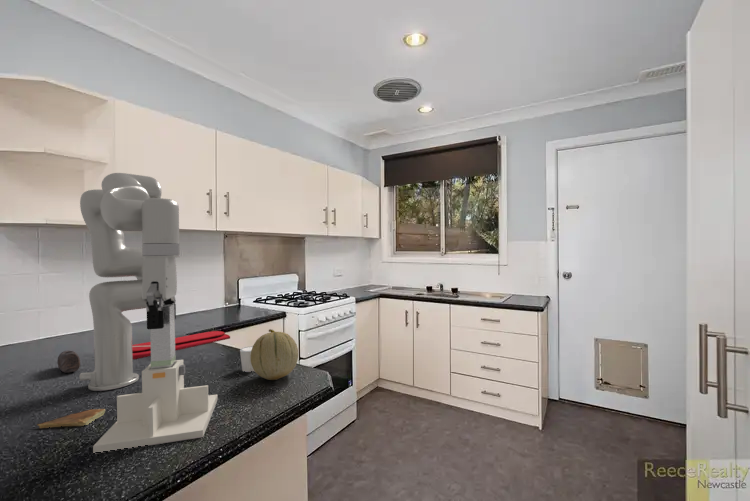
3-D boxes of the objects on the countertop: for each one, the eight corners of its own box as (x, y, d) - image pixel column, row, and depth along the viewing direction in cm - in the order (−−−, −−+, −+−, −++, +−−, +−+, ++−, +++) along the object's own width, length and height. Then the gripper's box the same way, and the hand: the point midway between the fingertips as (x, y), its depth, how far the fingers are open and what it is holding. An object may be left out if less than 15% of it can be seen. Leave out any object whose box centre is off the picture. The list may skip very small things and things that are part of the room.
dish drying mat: (230, 339, 164) (230, 331, 164) (127, 362, 132) (127, 352, 132) (214, 335, 174) (214, 327, 174) (114, 355, 142) (114, 346, 142)
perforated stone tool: (54, 368, 126) (54, 348, 126) (73, 364, 130) (73, 345, 130) (61, 377, 116) (60, 356, 116) (81, 372, 120) (81, 352, 120)
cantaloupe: (273, 390, 100) (272, 338, 100) (240, 381, 108) (239, 332, 108) (308, 374, 113) (307, 328, 113) (277, 367, 120) (276, 324, 121)
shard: (36, 430, 81) (36, 422, 81) (64, 415, 89) (64, 408, 89) (85, 428, 81) (85, 421, 81) (108, 413, 89) (108, 406, 89)
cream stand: (93, 453, 70) (91, 386, 70) (132, 410, 89) (131, 357, 89) (203, 437, 75) (201, 374, 75) (217, 399, 95) (216, 349, 95)
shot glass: (254, 373, 116) (254, 351, 116) (236, 372, 117) (235, 351, 117) (265, 366, 122) (264, 346, 122) (247, 365, 124) (247, 345, 124)
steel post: (151, 386, 80) (149, 307, 80) (156, 380, 84) (155, 305, 84) (171, 384, 81) (169, 306, 81) (176, 378, 85) (174, 304, 85)
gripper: (155, 251, 90) (156, 318, 90) (128, 252, 73) (129, 333, 73) (187, 251, 92) (188, 316, 92) (168, 251, 75) (169, 331, 75)
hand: (162, 324), depth 83 cm, fingers open, 9 cm apart
